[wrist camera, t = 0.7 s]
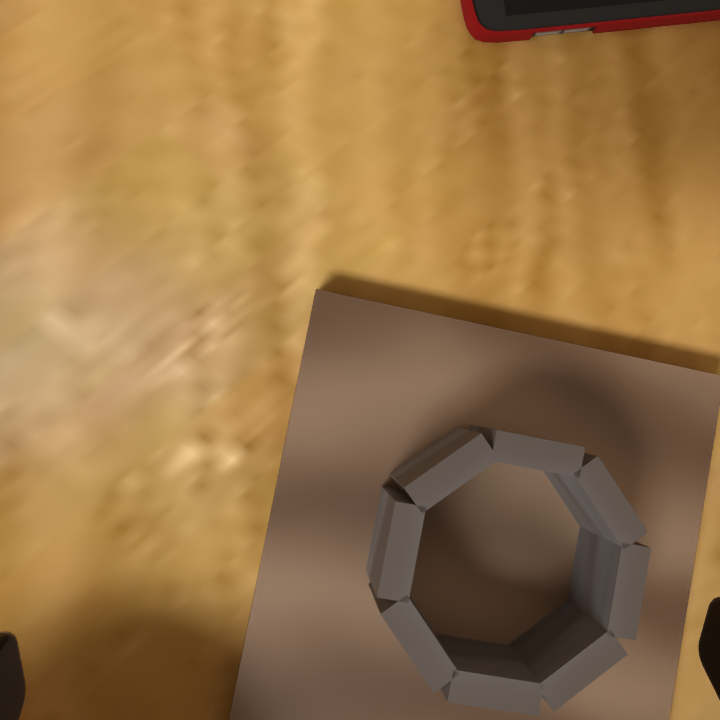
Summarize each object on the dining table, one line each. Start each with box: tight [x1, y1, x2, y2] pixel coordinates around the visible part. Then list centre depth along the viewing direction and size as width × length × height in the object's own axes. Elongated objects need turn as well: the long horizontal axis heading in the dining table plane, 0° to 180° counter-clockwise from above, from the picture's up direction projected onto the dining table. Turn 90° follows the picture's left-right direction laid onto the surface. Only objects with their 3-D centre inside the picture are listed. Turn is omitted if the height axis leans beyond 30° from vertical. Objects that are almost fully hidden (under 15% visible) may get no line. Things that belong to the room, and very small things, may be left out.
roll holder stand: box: [229, 289, 720, 720], centre depth 22 cm, size 16×16×4 cm
